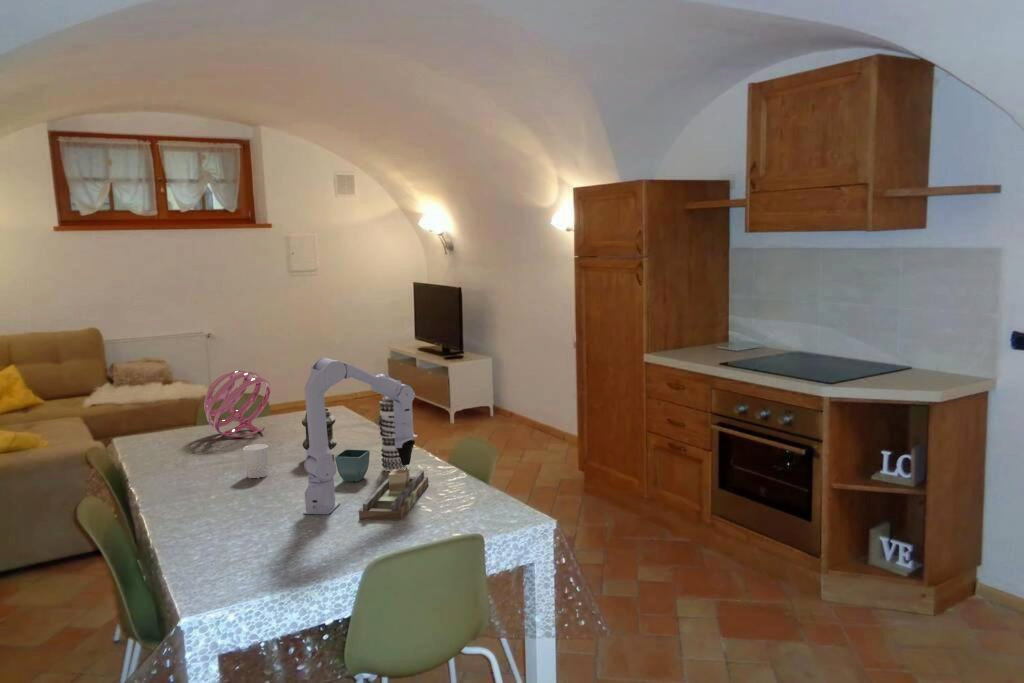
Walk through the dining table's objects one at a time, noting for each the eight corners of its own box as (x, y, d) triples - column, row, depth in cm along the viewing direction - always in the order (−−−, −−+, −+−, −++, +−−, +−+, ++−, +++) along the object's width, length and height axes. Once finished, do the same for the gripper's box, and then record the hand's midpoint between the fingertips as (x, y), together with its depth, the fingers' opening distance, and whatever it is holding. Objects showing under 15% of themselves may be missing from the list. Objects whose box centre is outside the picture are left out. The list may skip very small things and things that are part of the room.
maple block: (405, 490, 233) (404, 474, 232) (389, 490, 233) (388, 474, 233) (409, 485, 238) (409, 469, 237) (394, 485, 238) (393, 469, 238)
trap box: (400, 520, 215) (399, 504, 214) (359, 519, 217) (358, 503, 216) (428, 484, 246) (427, 470, 245) (391, 483, 248) (391, 470, 247)
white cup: (240, 477, 260) (237, 448, 259) (258, 471, 267) (255, 443, 265) (257, 480, 256) (255, 451, 255) (274, 473, 263) (272, 445, 262)
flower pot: (361, 484, 248) (359, 457, 247) (335, 483, 250) (334, 456, 249) (371, 476, 257) (370, 449, 256) (347, 475, 259) (345, 449, 258)
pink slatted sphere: (296, 386, 318) (249, 348, 324) (242, 416, 296) (194, 374, 302) (283, 431, 334) (239, 394, 340) (232, 463, 312) (186, 423, 318)
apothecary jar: (340, 460, 277) (337, 411, 274) (305, 465, 272) (302, 415, 270) (335, 452, 288) (332, 404, 286) (301, 456, 284) (298, 408, 281)
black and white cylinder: (412, 464, 268) (409, 394, 265) (401, 472, 259) (397, 399, 256) (388, 463, 271) (384, 393, 267) (376, 471, 262) (372, 399, 258)
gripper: (409, 427, 233) (412, 471, 235) (422, 416, 247) (424, 457, 249) (387, 427, 234) (389, 471, 236) (400, 416, 248) (403, 457, 250)
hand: (406, 464), depth 242 cm, fingers closed
